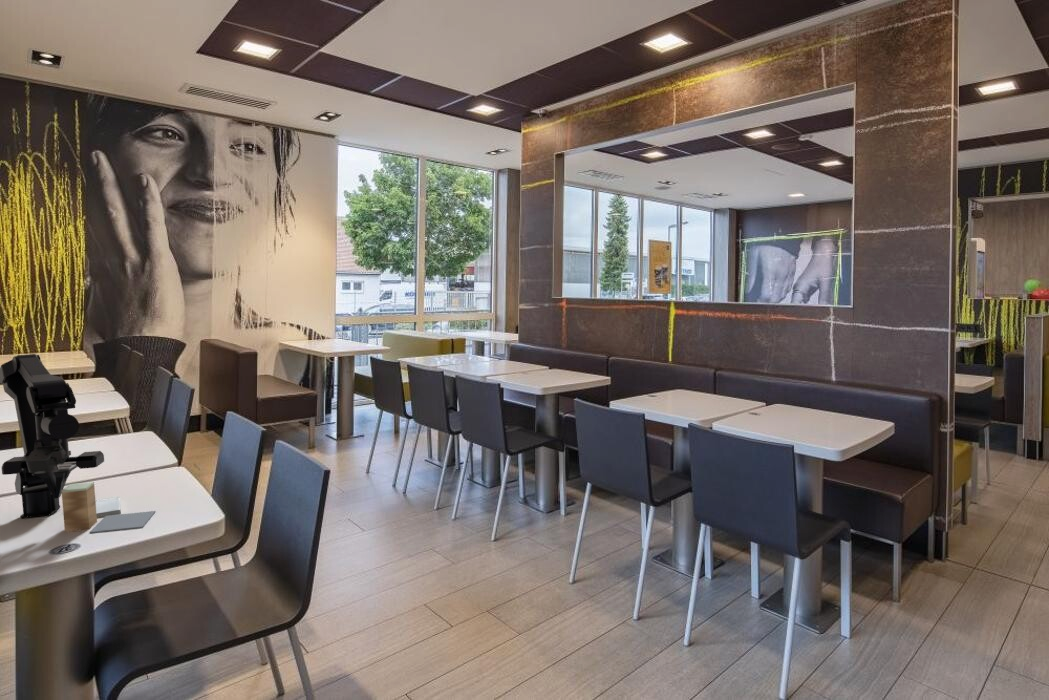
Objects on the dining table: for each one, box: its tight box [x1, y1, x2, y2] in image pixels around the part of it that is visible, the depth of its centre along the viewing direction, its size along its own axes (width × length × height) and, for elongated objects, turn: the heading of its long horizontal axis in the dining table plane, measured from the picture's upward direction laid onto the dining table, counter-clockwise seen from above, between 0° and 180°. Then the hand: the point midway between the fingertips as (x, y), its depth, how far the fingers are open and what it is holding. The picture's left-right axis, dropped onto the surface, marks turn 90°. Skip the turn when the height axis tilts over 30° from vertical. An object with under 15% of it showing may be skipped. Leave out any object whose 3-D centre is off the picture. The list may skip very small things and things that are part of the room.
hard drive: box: [95, 496, 122, 519], centre depth 161 cm, size 2×8×12 cm
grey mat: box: [89, 510, 156, 534], centre depth 152 cm, size 11×11×1 cm
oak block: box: [61, 481, 98, 533], centre depth 149 cm, size 5×5×10 cm
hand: (57, 497), depth 147 cm, fingers closed
